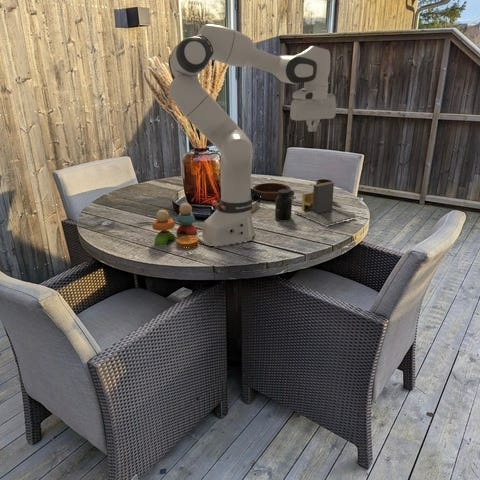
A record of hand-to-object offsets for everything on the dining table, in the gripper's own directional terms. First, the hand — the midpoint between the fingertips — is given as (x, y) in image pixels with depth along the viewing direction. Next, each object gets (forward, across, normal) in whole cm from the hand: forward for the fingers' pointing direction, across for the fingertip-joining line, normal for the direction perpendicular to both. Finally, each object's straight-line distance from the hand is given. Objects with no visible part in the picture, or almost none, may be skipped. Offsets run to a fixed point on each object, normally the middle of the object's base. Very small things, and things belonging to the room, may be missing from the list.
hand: (311, 131), depth 170 cm
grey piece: (+36, -10, +3) cm, 37 cm away
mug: (+36, -24, -13) cm, 45 cm away
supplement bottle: (+37, +6, -6) cm, 38 cm away
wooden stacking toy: (+38, +51, -9) cm, 65 cm away
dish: (+38, -9, -34) cm, 52 cm away
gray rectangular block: (+34, -10, -2) cm, 36 cm away
